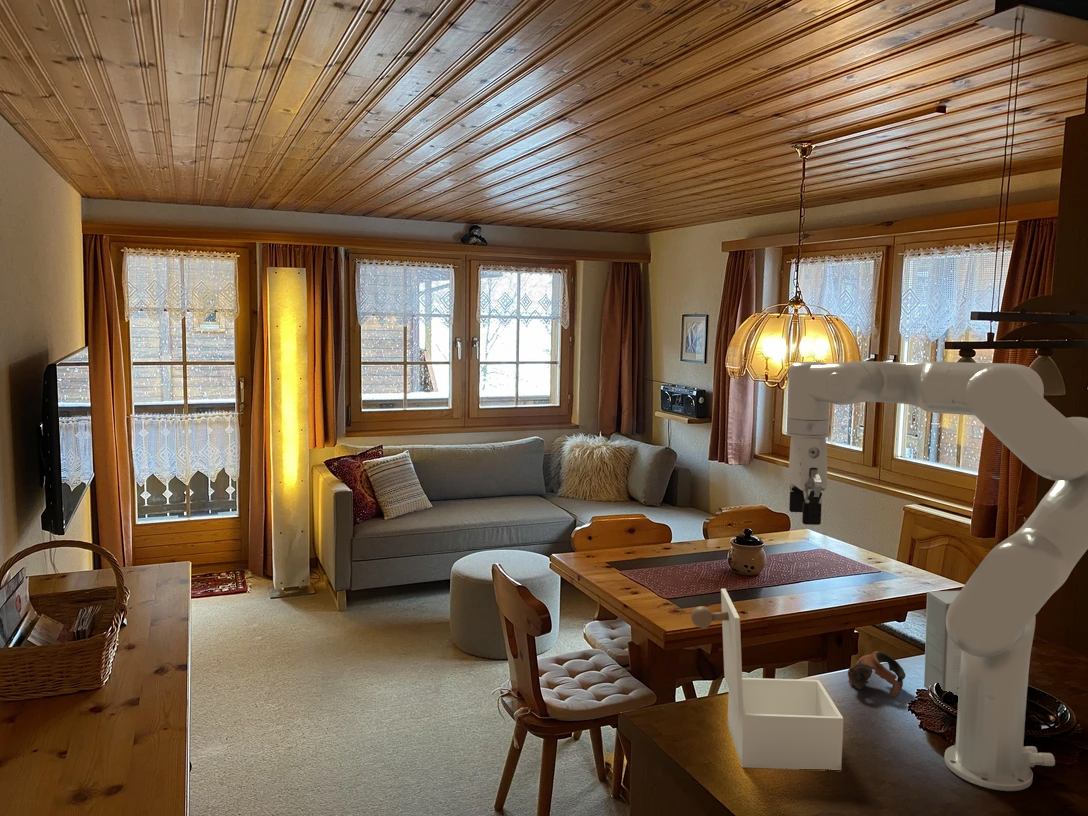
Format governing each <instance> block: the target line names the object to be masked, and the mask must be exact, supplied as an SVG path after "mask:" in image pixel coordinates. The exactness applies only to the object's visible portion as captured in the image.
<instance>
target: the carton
mask: <svg viewBox="0 0 1088 816" xmlns="http://www.w3.org/2000/svg"><path fill="white" fill-rule="evenodd" d="M742 687H743V713H744V715H738V712H737V709H736V707H735V704H734V701H733V698H732V696H731V693H730V690H729V689H728V699H727V700H728V707H727V709H728V710H727V726H728V730H729V733H730V736H731V739H732V742H733V744H734V747H735V750H736V754H737V757H738V760H739V763H740V766H741V768H749V769H750V768H751V769H772V770H773V769H774V770H775V769H778V770H799V769H829V770H830V769H831V770H841V771H842V760H843V738H844V737H843V735H844V717H843V715H842V714H841V713H840V710H839V709H838V708H837V706H836V705H835V703H834V701H833V699H832V698H831V696H830V695H829V693H828V691H827V689H825V687H824V685H823V684H822V682H821V681H820V679H795V678H794V679H792V678H765V677H764V678H763V677H742ZM786 768H787V769H786Z"/></svg>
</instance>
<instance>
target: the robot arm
mask: <svg viewBox="0 0 1088 816" xmlns="http://www.w3.org/2000/svg"><path fill="white" fill-rule="evenodd" d="M787 380H788V381H787V385H788V386H787V402H786V403H787V405H786V407H787V409H786V411H787V412H786V436H787V437H790V443H789V444H790V445H789V446H790V447H789V457H788V458H789V461H788V462H789V463H788V478H789V479H788V480H789V481H790V485H789V504H788V505H789V508H788V511H789V512H791V513H802V514H801V515H802V517H801V518H802V520H801V522H802V524H803V525H804V526H805V525H809V526H810V525H811V526H814V525H817V526H820V525H821V524H822V506H823V505H822V503H823V502H822V501H823V498H822V496H823V492H826V490H827V489H828V450H827V441H826V438H829V436H830V434H829V433H830V409H831V404H833V405H839V406H840V405H841V406H846V405H854V404H860V403H888V404H889V403H890V404H904V405H909V406H911V405H912V406H914V407H917V408H920V409H921V410H922V411H925V412H927V413H932V414H933V413H935V414H949V415H961V416H963V415H964V416H975V417H976V418H977V419H978V420H979V421H980V422H981V423H982V424H983V426H984V427H986V428H987V429H988V430H989V431H990V432H991V433H992V435H994V436H995V437H996V438H997V440H999V441H1000V442H1001V443H1002V444H1003V445H1004V446H1005V447H1007V449H1009V451H1011V453H1013V454H1014V455H1015V456H1016V457H1017V458H1018V459H1019V460H1020V461H1021V462H1022V463H1023V464H1024V465H1026V466H1027V468H1029V469H1030V470H1031V471H1033V472H1034V473H1036V474H1037V475H1039V476H1041V477H1043V478H1044V479H1048V480H1051V481H1055V482H1054V483H1053V485H1052V486H1051V488H1050V489H1049V490H1048V491H1047V492H1046V494H1044V496H1043V498H1042V499H1041V500H1040V502H1039V503H1038V505H1037V506H1036V508H1035V509H1034V511H1033V512H1032V514H1030V516H1029V517H1028V518H1027V520H1026V521H1025V522H1023V524H1022V526H1021V527H1019V528H1018V530H1017V531H1015V532H1014V533H1013V534H1012V535H1010V536H1008V537H1007V538H1005V539H1004V540H1002V541H1001V542H999V543H998V544H997V545H995V546H994V547H993V548H992V549H991V550H990V551H989V552H988V554H986V556H985V557H984V558H983V560H982V561H981V562H980V564H978V566H977V568H976V569H975V570H974V572H973V573H972V574H971V576H970V577H969V579H968V580H967V581H966V583H965V584H964V585H963V587H962V588H961V590H959V591H960V592H959V594H958V595H957V596H956V598H955V599H954V600H953V602H952V603H951V605H950V606H949V608H948V611H947V614H946V628H947V631H948V634H949V636H950V638H951V640H952V641H953V643H954V644H955V645H956V646H957V647H958V648H959V649H961V650H962V654H961V665H960V678H959V696H958V702H957V714H956V715H957V718H956V729H955V730H956V733H955V735H956V736H955V744H953V745H951V746H949V747H947V748H946V749H945V752H944V756H943V757H944V762H945V765H946V766H947V768H948V769H949V770H950V771H951V772H952V773H954V774H955V775H956V776H958V777H959V778H961V779H963V780H965V781H966V782H968V783H972V784H974V785H976V786H979V787H983V788H985V789H990V790H995V791H1003V792H1004V791H1005V792H1017V791H1022V790H1025V789H1027V788H1029V787H1030V786H1031V785H1032V783H1033V778H1034V774H1033V771H1032V769H1031V768H1035V766H1041V767H1042V766H1043V767H1044V766H1045V767H1053V766H1055V765H1056V760H1055V756H1054V755H1053V754H1052V753H1051V752H1038V748H1037V747H1036V746H1033V745H1031V746H1030V745H1029V746H1028V745H1026V746H1024V740H1025V729H1026V728H1025V726H1026V725H1025V724H1026V723H1025V722H1026V713H1027V712H1026V711H1027V700H1028V699H1027V697H1028V686H1029V669H1030V661H1031V653H1032V648H1033V647H1032V646H1033V640H1034V636H1035V629H1036V618H1037V617H1036V615H1037V614H1038V613H1039V612H1040V610H1041V608H1042V607H1044V605H1045V604H1046V603H1047V601H1048V600H1049V599H1050V598H1051V596H1052V595H1054V593H1056V592H1057V591H1058V590H1059V589H1060V588H1061V587H1062V586H1063V585H1064V584H1065V582H1066V581H1067V579H1068V578H1069V576H1070V574H1071V572H1072V571H1073V569H1074V568H1075V566H1076V565H1077V564H1078V562H1079V561H1080V560H1081V558H1082V557H1083V556H1084V554H1085V553H1086V552H1087V550H1088V417H1083V416H1071V417H1066V416H1065V415H1063V414H1062V413H1061V412H1060V411H1059V410H1058V409H1056V408H1055V406H1053V405H1052V404H1051V403H1049V402H1048V400H1047V399H1045V398H1044V393H1045V392H1044V391H1045V388H1044V387H1045V386H1044V383H1043V380H1042V378H1041V376H1040V375H1039V374H1038V372H1037V371H1035V370H1034V369H1033V368H1031V367H1028V366H1026V365H1023V364H1018V363H999V362H998V363H996V362H962V361H961V362H959V361H924V362H899V361H871V360H867V361H866V360H865V361H864V360H863V361H860V360H859V361H857V360H856V361H846V362H836V363H826V362H823V361H822V362H821V361H797V362H796V361H795V362H793V363H791V365H790V366H789V368H788V377H787Z"/></svg>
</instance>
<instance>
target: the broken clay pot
mask: <svg viewBox="0 0 1088 816" xmlns="http://www.w3.org/2000/svg"><path fill="white" fill-rule="evenodd" d="M882 663H887V664H888V668H889V669H887V668H886V667H885V666H884V665H883V664H882ZM873 670H874V674H876V676H878V677H880V678H881V679H883V680H885V681H886V682H887V683H888V684H890V685H891V687H892V688H891V690H890V692H889V696H890V697H892V698H894V697H896V696H897V695H898V694H899V692H901V691H902V689H903V686H904V681H903V680H904V679H906V672H905V670H904V668H903V667H902V666H901V665H900V663H899V662H897V660H896V659H894V657H892V656H890V655H889V654H887V653H885V652H883V651H880V650H874V651H873V652H871V654H865V655H863V656H861V657H859V659H858V660H857V661H855V664H853V665H851V666H849V668H848V670H847V677H848V683H849V684H848V685H849V686H850V687H851V688H853V687H855V688H856V689H860V690H864V686H865V685H866V682H867V681H868V680H869V679H870V678H871V677H872V674H873Z"/></svg>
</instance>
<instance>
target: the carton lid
mask: <svg viewBox="0 0 1088 816" xmlns="http://www.w3.org/2000/svg"><path fill="white" fill-rule="evenodd" d="M720 598H721V599H720V602H721V612H720V611H719V612H712V611H711V610H710V609H709V608H708V607H707V606H703V605H701V606H696V607H695V608H694V609H693V610H692V612H691V616H690V618H691V621H692V624H693V625H694V626H696V627H697V628H699V629H705V628H708V627H709V626H711V624H712V623H713V622H719V621H720V622H722V623H721V625H722V628H721V629H722V647H723V648H722V649H723V650H722V651H723V671H724V673H723V674H724V675H723V676H724V680H725V682H726V685H727V687H728V691H729V690H730V693H731V696H732V698H733V701H734V704H735V707H736V709H737V712H738V715H744V713H743V687H742V678H743V670H742V669H743V667H742V666H743V665H742V664H743V662H742V642H741V618H740V616H739V614H738V611H737V609H736V608H735V605H734V604H733V601H732V599H731V597H730V595H729V593H728V591H727V588H720Z"/></svg>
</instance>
